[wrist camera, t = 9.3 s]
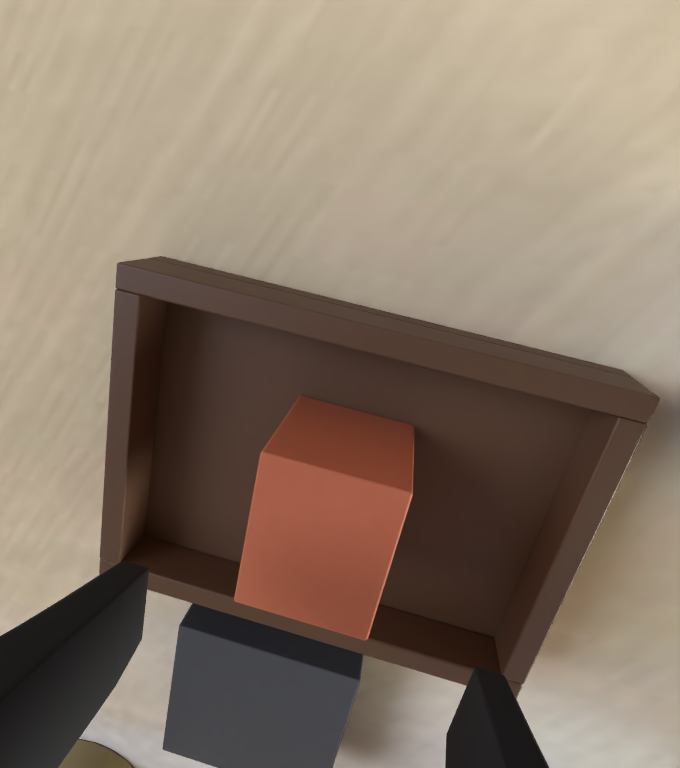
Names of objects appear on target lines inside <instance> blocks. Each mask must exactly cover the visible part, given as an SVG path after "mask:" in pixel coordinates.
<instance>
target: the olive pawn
mask: <svg viewBox="0 0 680 768" xmlns="http://www.w3.org/2000/svg"><path fill="white" fill-rule="evenodd" d="M58 768H133V767H132V766H131V765H130V764H129V763H128V762H127V761H126V760H125V759H123V758H122V757H120V756H119V755H118V754H116V753H115V752H114V751H112V750H110V749H108V748H105V747H103V746H101V745H99V744H96V743H92V742H88V741H83V740H77V742H76V743H75V745H74V746H73V747H72V749H71V750H70V752H69V753H68V754H67V756H66V757H65V759H64V760H63V762H62V763H61V764H60V766H59V767H58Z"/></svg>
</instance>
